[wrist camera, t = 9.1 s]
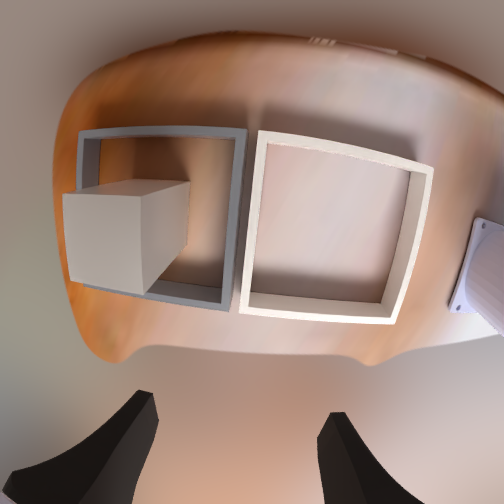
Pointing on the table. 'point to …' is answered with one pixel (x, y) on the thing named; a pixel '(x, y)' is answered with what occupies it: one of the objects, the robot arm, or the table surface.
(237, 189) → the bin
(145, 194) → the white rectangular block
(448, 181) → the table surface
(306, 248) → the table surface
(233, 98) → the table surface
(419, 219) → the bin
